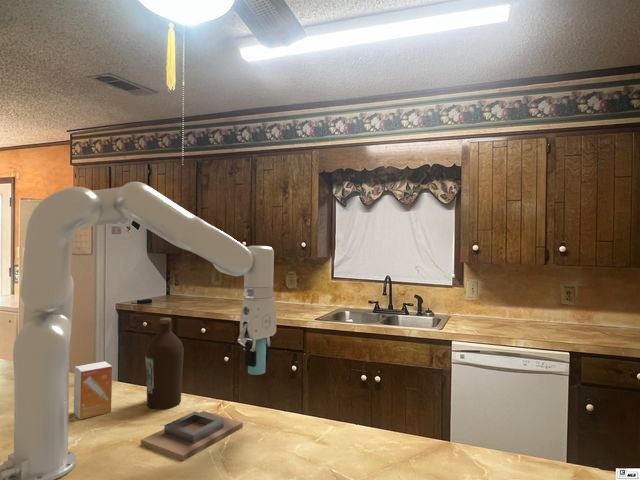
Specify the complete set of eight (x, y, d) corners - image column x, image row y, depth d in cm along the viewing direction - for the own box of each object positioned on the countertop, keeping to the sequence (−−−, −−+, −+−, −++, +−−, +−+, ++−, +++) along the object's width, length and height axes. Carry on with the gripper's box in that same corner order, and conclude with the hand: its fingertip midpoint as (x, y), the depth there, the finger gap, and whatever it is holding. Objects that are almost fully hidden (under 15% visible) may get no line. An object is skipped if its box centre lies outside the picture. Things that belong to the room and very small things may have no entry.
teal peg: (258, 375, 108) (258, 340, 108) (244, 372, 111) (245, 337, 111) (268, 371, 112) (269, 337, 112) (255, 368, 114) (256, 334, 115)
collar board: (182, 460, 94) (183, 446, 94) (140, 444, 101) (141, 431, 101) (242, 426, 111) (242, 414, 111) (203, 415, 118) (203, 403, 118)
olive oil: (178, 394, 134) (179, 314, 134) (187, 406, 125) (188, 320, 125) (141, 400, 128) (143, 317, 128) (148, 413, 119) (149, 323, 119)
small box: (79, 420, 114) (80, 371, 114) (73, 413, 118) (73, 366, 118) (112, 412, 119) (112, 365, 119) (104, 405, 124) (105, 360, 124)
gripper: (248, 298, 102) (247, 374, 102) (288, 291, 117) (287, 358, 117) (225, 295, 106) (223, 369, 106) (266, 289, 121) (265, 354, 121)
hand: (256, 362), depth 111 cm, fingers closed on teal peg, 4 cm apart
